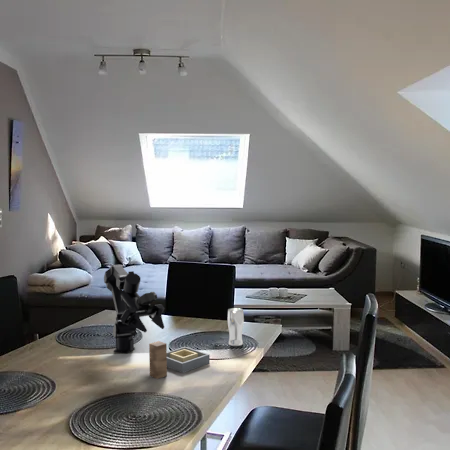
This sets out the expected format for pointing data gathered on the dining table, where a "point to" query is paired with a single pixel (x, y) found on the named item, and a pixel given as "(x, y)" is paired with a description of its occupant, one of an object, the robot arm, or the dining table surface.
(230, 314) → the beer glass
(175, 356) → the housing
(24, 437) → the dining table surface
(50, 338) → the dining table surface
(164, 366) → the post
